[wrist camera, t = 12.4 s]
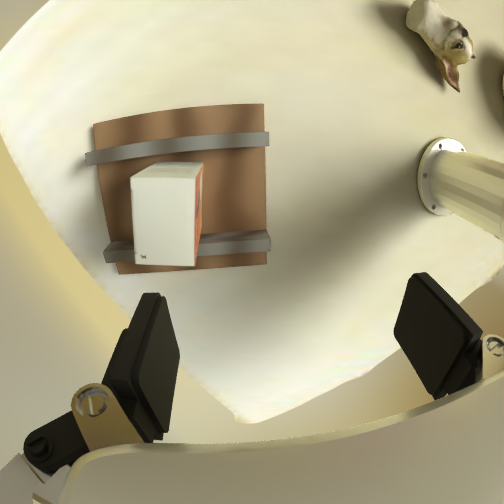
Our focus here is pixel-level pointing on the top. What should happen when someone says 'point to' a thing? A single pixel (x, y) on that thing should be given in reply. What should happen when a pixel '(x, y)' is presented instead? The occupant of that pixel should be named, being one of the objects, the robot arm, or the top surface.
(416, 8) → the ceramic sculpture
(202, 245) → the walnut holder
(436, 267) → the top surface
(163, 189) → the small box
